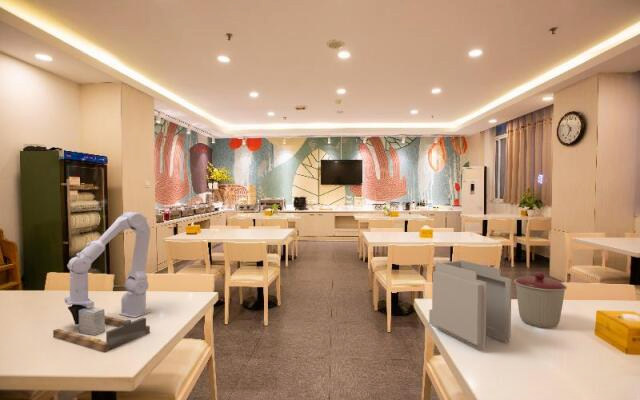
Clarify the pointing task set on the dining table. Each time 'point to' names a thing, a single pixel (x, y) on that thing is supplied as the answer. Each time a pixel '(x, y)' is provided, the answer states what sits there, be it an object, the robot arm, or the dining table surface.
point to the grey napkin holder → (471, 302)
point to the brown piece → (108, 334)
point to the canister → (540, 300)
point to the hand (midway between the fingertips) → (79, 323)
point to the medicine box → (91, 321)
